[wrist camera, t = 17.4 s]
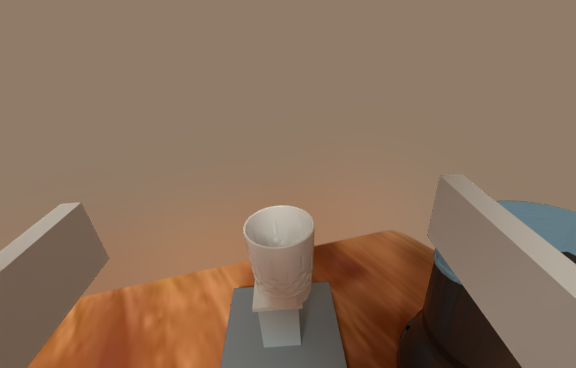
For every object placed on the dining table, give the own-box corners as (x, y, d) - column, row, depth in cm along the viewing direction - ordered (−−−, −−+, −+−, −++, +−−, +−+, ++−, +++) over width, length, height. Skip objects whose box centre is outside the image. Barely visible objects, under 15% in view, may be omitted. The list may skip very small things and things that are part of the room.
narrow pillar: (328, 287, 48) (329, 241, 43) (350, 394, 34) (354, 342, 29) (235, 294, 48) (225, 249, 43) (217, 403, 34) (200, 353, 29)
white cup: (272, 259, 40) (265, 200, 36) (324, 275, 37) (324, 212, 32) (241, 301, 34) (228, 237, 30) (300, 325, 31) (296, 256, 26)
